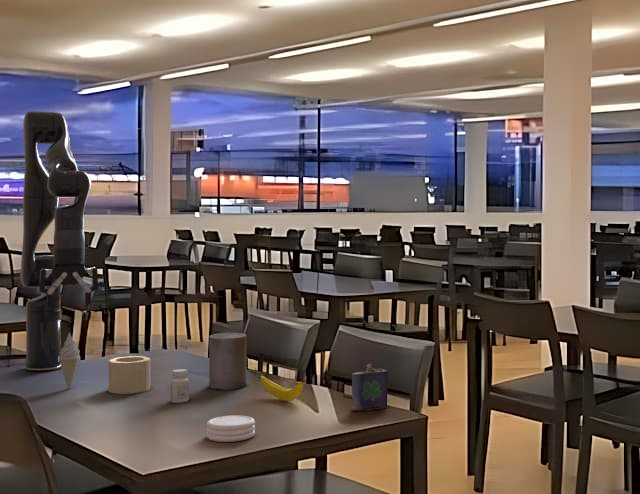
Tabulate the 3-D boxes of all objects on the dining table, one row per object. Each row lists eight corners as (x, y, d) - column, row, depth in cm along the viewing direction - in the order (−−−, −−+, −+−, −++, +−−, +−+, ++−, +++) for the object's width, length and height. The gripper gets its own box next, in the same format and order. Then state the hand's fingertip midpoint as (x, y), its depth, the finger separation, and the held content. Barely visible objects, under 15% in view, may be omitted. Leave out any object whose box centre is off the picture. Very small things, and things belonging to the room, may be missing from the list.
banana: (265, 393, 247) (265, 369, 247) (309, 405, 234) (309, 379, 234) (255, 395, 245) (255, 370, 245) (299, 407, 232) (299, 380, 232)
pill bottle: (192, 400, 239) (192, 369, 239) (181, 403, 235) (181, 372, 235) (177, 398, 240) (177, 368, 240) (166, 402, 236) (166, 371, 236)
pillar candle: (242, 381, 262) (242, 327, 262) (249, 388, 254) (250, 331, 254) (205, 384, 258) (205, 329, 258) (212, 391, 250) (212, 333, 249)
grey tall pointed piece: (83, 387, 254) (83, 331, 254) (73, 391, 249) (73, 333, 249) (64, 387, 254) (65, 330, 254) (54, 390, 249) (55, 333, 249)
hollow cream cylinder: (106, 388, 253) (106, 357, 253) (146, 384, 258) (146, 355, 258) (111, 395, 244) (111, 364, 244) (153, 391, 249) (153, 360, 249)
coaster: (241, 428, 211) (241, 412, 211) (263, 437, 203) (263, 420, 203) (198, 435, 204) (198, 419, 204) (219, 445, 196) (219, 428, 196)
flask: (354, 412, 227) (354, 366, 226) (349, 409, 229) (349, 365, 229) (389, 407, 231) (389, 363, 231) (384, 405, 234) (384, 361, 234)
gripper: (96, 245, 258) (96, 305, 258) (38, 246, 251) (38, 307, 252) (99, 246, 251) (99, 308, 251) (40, 247, 245) (40, 310, 245)
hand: (69, 307), depth 251 cm, fingers open, 8 cm apart
